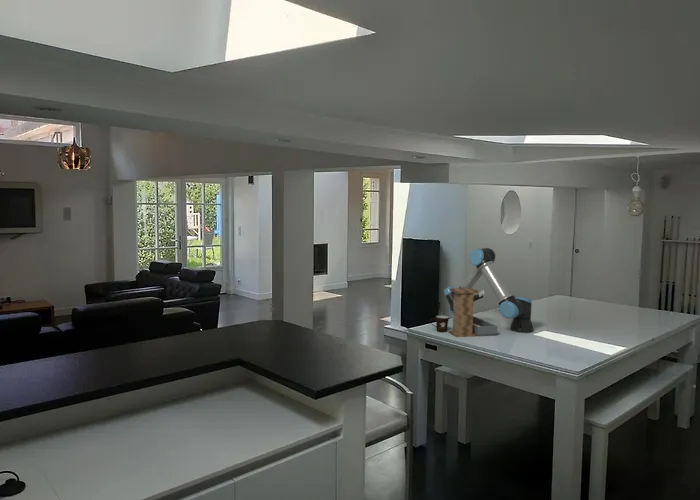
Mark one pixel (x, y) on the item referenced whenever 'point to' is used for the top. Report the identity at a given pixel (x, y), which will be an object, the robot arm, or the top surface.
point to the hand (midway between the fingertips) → (474, 292)
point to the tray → (483, 327)
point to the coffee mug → (441, 323)
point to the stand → (463, 312)
